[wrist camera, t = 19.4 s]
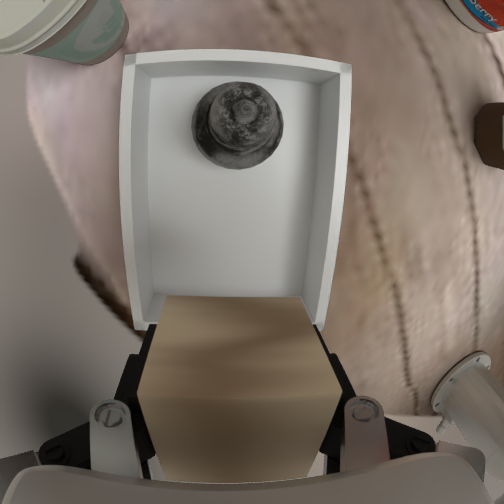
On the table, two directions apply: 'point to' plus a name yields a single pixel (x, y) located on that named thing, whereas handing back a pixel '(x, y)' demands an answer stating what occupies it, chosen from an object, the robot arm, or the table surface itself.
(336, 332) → the table surface
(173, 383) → the beech cube
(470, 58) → the table surface
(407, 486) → the robot arm
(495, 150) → the beer bottle
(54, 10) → the coffee cup
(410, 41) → the table surface
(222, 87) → the chess piece
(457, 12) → the fruit juice
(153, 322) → the tote
